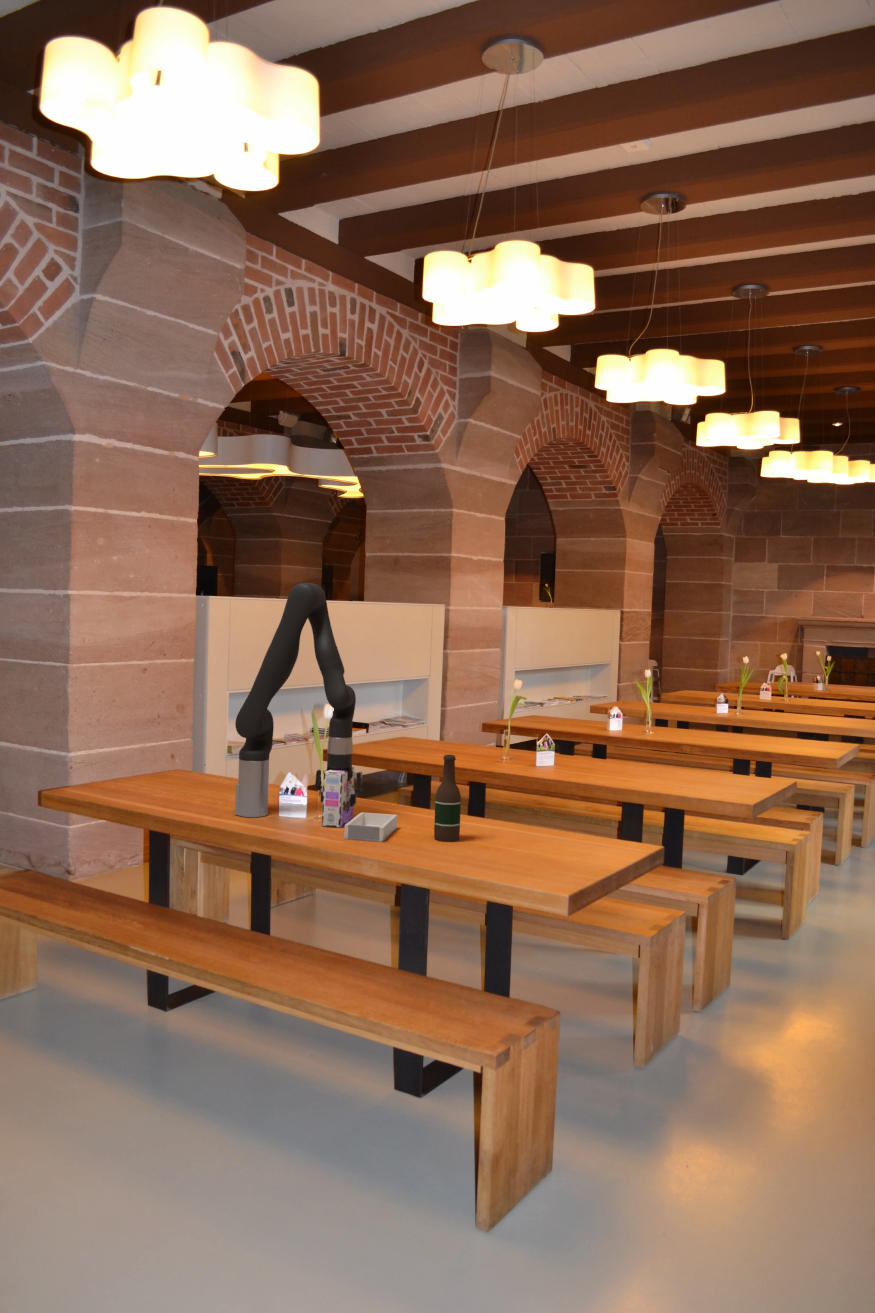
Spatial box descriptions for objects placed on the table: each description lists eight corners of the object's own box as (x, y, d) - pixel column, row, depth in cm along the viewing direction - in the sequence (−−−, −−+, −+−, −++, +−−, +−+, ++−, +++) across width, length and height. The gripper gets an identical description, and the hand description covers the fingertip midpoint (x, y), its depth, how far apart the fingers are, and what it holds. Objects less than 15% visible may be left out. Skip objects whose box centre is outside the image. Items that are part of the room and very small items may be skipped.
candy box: (340, 828, 291) (342, 772, 291) (321, 826, 293) (322, 771, 292) (353, 819, 305) (355, 766, 304) (335, 818, 306) (336, 765, 305)
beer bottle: (428, 837, 284) (431, 753, 283) (453, 835, 287) (456, 753, 286) (439, 843, 277) (442, 757, 276) (464, 841, 280) (467, 757, 279)
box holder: (344, 839, 277) (344, 825, 277) (360, 825, 296) (361, 812, 296) (382, 842, 275) (383, 827, 275) (396, 828, 294) (397, 814, 294)
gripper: (313, 752, 295) (311, 806, 296) (360, 754, 293) (358, 809, 294) (320, 748, 303) (319, 801, 303) (366, 751, 300) (364, 804, 301)
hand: (338, 805), depth 298 cm, fingers open, 8 cm apart
